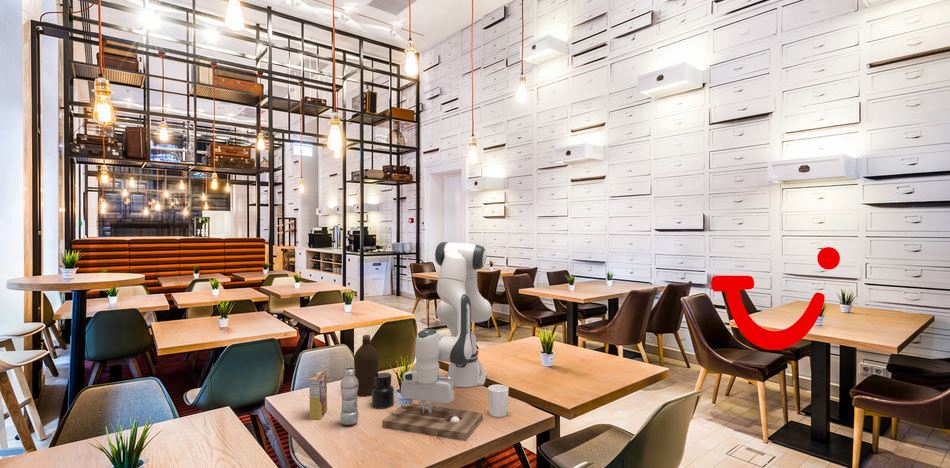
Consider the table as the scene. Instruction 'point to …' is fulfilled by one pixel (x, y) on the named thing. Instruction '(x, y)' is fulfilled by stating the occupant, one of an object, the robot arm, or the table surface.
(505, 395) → the white cup
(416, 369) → the robot arm
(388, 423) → the board
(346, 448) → the table surface
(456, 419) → the ball
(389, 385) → the ink bottle
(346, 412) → the plastic bottle
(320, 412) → the candy box
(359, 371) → the olive oil
